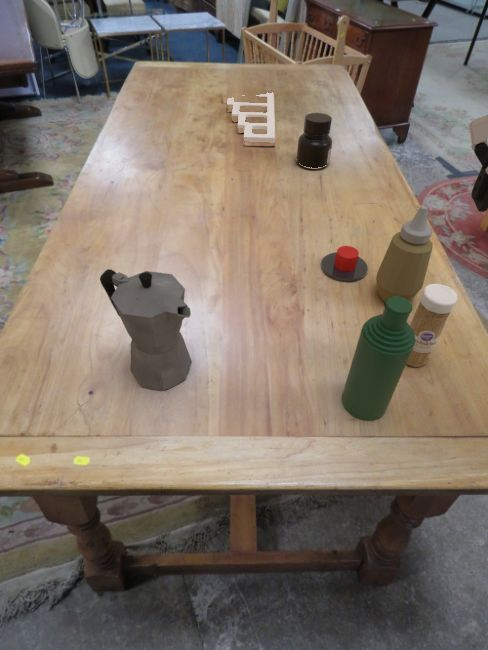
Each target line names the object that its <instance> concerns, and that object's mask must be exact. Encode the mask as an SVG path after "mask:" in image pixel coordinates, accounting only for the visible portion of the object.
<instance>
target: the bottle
mask: <svg viewBox="0 0 488 650" xmlns="http://www.w3.org/2000/svg"><path fill="white" fill-rule="evenodd" d="M412 311H413V305H412V302H411V300H410V301H409V300H407V299H406V298H403V297H400V296H393V297H390V298H388V299H387V300H386V302H385V304H384V308H383V311H382V313H381V314H377V315H374V316H371V317H370V318H368V319H367V320H366V321H365V322H364V323H363V325H362V327H361V330H360V334H359V336H358V339H357V344H356V347H355V350H354V353H353V357H352V361H351V363H350V367H349V370H348V374H347V378H346V380H345V384H344V387H343V391H342V395H341V402H342V405H343V407H344V409H345V410H346V411H347V412H348V414H350V415H351V416H352V417H354V418H356V419H358V420H361V421H367V422H369V421H370V422H372V421H376V420H378V419H380V418H382V417H383V416H384V415H385V414H386V411H387V410H388V407H389V405H390V403H391V400H392V398H393V396H394V394H395V391H396V389H397V387H398V384H399V382H400V379H401V378H402V375H403V372H404V370H405V369H406V366H407V364H406V363H407V361H408V359H409V356H410V354H411V352H412V349H413V347H414V345H415V334H414V331H413V329H412V328H411V327H410V324H409V323H408V319H409V316H410V314H411V313H412Z"/></svg>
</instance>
